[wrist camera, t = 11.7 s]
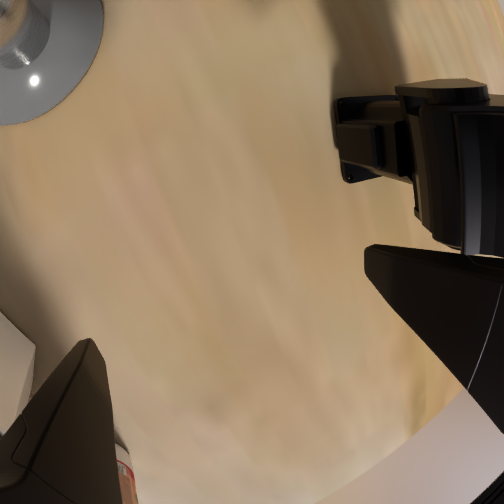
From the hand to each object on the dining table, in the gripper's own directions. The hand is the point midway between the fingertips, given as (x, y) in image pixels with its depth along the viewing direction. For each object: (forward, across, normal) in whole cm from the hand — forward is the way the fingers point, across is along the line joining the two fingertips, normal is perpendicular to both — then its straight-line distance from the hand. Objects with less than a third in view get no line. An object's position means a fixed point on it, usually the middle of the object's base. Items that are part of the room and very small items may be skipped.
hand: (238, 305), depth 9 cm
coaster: (+12, +8, -14) cm, 20 cm away
